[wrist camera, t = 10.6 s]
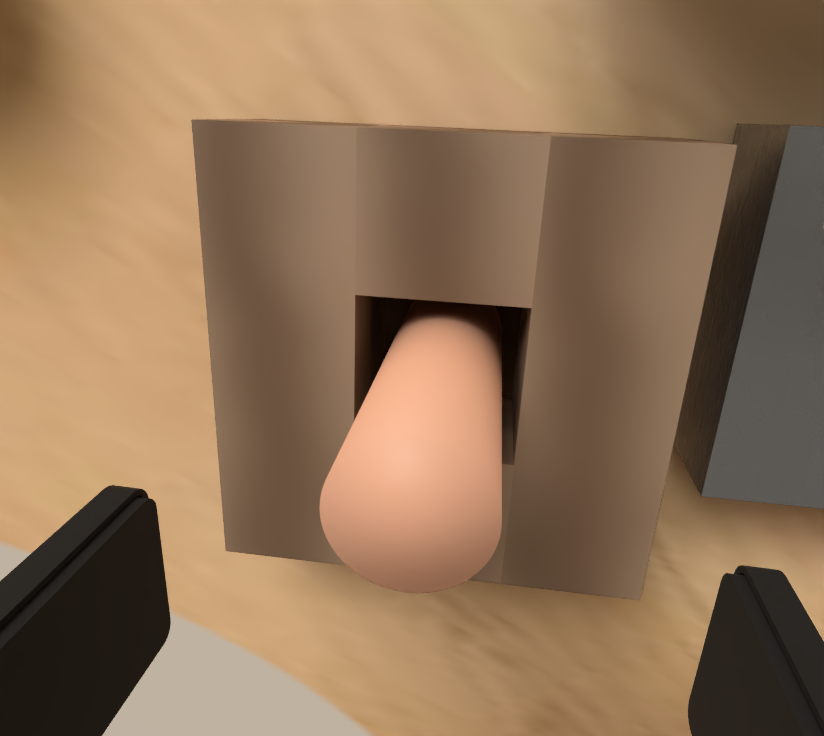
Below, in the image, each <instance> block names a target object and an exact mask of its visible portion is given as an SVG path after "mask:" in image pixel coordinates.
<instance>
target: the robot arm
mask: <svg viewBox="0 0 824 736" xmlns="http://www.w3.org/2000/svg"><path fill="white" fill-rule="evenodd" d="M169 630H170V612H169V604H168V596H167V588H166V580H165V572H164V564H163V556H162V547H161V539H160V531H159V523H158V515H157V507H156V503H155V502H154V500H152V499H149V498H148V495H147V493H146V491H144V490H143V489H137V488H130V487H122V486H114V485H112V486H108V487H106V488H105V489H103V490H102V491H101V492H100V493H99V494H98V495H97V496H96V497H94V498H93V499H92V500H91V501H90V502H89V503H88V504H87V505H85V506H84V507H83V508H82V509H81V510H80V511H79V512H78V513H76V514H75V515H74V516H73V517H72V518H71V519H70V520H69V521H67V522H66V523H65V524H64V525H63V526H62V527H61V528H60V529H59V530H57V531H56V532H55V533H54V534H53V535H52V536H51V537H50V538H48V539H47V540H46V541H45V542H44V543H43V544H42V545H41V546H39V547H38V548H37V549H36V550H35V551H34V552H33V553H32V554H30V555H29V556H28V557H27V558H26V559H25V560H24V561H23V562H21V563H20V564H19V565H18V566H17V567H16V568H15V569H14V570H13V571H11V572H10V573H9V574H8V575H7V576H6V577H5V578H3V579H2V580H1V581H0V736H102V735H103V733H104V732H105V730H106V729H107V727H108V726H109V724H110V723H111V721H112V720H113V718H114V717H115V715H116V714H117V713H118V711H119V710H120V708H121V706H122V705H123V703H124V702H125V701H126V699H127V698H128V696H129V695H130V693H131V692H132V690H133V689H134V687H135V686H136V684H137V683H138V681H139V680H140V679H141V677H142V676H143V674H144V673H145V671H146V670H147V668H148V667H149V665H150V664H151V662H152V661H153V659H154V658H155V656H156V655H157V653H158V652H159V651H160V649H161V647H162V646H163V645H164V643H165V641H166V639H167V637H168V634H169ZM688 719H689V726H690V730H691V734H692V736H824V641H823V640H822V638H821V636H820V635H819V633H818V631H817V629H816V628H815V626H814V624H813V622H812V621H811V619H810V617H809V616H808V614H807V612H806V610H805V609H804V607H803V605H802V603H801V602H800V600H799V598H798V597H797V595H796V593H795V591H794V590H793V588H792V586H791V584H790V583H789V581H788V579H787V577H786V576H785V575H784V573H783V572H781V571H779V570H774V569H766V568H758V567H750V566H742V565H741V566H738V568H737V569H736V570H735V573H734V574H729V573H726V574H724V576H723V577H722V580H721V583H720V587H719V591H718V595H717V598H716V602H715V606H714V610H713V613H712V617H711V621H710V624H709V628H708V632H707V636H706V639H705V643H704V647H703V651H702V654H701V658H700V662H699V666H698V669H697V673H696V677H695V680H694V684H693V688H692V692H691V695H690V699H689V705H688Z"/></svg>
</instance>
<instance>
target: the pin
mask: <svg viewBox="0 0 824 736" xmlns="http://www.w3.org/2000/svg"><path fill="white" fill-rule="evenodd" d="M319 509H320V519H321V523H322V528H323V531H324V533H325V536H326V538H327V540H328V542H329V544H330V545H331V547H332V549H333V550H334V551H335V553H336V554H337V556H338V557H339V558H340V559H341V560H342V561H343V562H344V563H345V564H346V565H347V566H348V567H349V568H351V569H352V570H353V571H354V572H356V573H357V574H359V575H360V576H361V577H363V578H365V579H367V580H369V581H370V582H372V583H375V584H377V585H380V586H382V587H385V588H389V589H392V590H396V591H402V592H410V593H429V592H435V591H441V590H445V589H448V588H451V587H454V586H456V585H459V584H461V583H463V582H465V581H466V580H468V579H470V578H471V577H473V576H474V575H475V574H477V573H478V572H479V571H480V570H481V569H482V568H483V567H484V566H485V565H486V564H487V562H488V561H489V560H490V558H491V557H492V555H493V553H494V551H495V550H496V548H497V545H498V542H499V539H500V534H501V529H502V326H501V320H500V316H499V314H498V311H497V309H496V308H495V306H494V305H483V304H470V303H456V302H443V301H429V300H416V299H415V300H414V302H413V303H412V304H411V306H410V308H409V310H408V312H407V314H406V316H405V318H404V320H403V322H402V324H401V326H400V328H399V330H398V332H397V334H396V336H395V338H394V340H393V342H392V344H391V347H390V349H389V351H388V353H387V355H386V357H385V359H384V361H383V363H382V365H381V367H380V369H379V371H378V373H377V375H376V377H375V379H374V381H373V383H372V386H371V388H370V390H369V392H368V394H367V396H366V398H365V400H364V402H363V404H362V406H361V408H360V410H359V412H358V414H357V416H356V418H355V420H354V423H353V425H352V427H351V429H350V431H349V433H348V435H347V437H346V439H345V441H344V443H343V445H342V447H341V449H340V451H339V453H338V455H337V457H336V460H335V462H334V464H333V466H332V468H331V470H330V472H329V474H328V476H327V478H326V480H325V483H324V485H323V488H322V492H321V497H320V508H319Z"/></svg>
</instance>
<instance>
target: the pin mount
mask: <svg viewBox="0 0 824 736" xmlns="http://www.w3.org/2000/svg"><path fill="white" fill-rule="evenodd" d="M733 144H734V145H737V149H736V154H735V158H734V163H733V168H732V172H731V177H730V182H729V186H728V191H727V196H726V201H725V205H724V210H723V215H722V219H721V224H720V229H719V233H718V238H717V243H716V247H715V252H714V257H713V261H712V266H711V271H710V275H709V280H708V285H707V289H706V294H705V299H704V303H703V308H702V313H701V318H700V322H699V327H698V332H697V336H696V341H695V346H694V350H693V355H692V360H691V364H690V369H689V374H688V378H687V383H686V388H685V392H684V397H683V402H682V406H681V411H680V416H679V421H678V425H677V430H676V435H675V439H674V445H675V447H676V449H677V451H678V453H679V455H680V457H681V458H682V460H683V462H684V464H685V466H686V468H687V470H688V472H689V474H690V476H691V478H692V479H693V481H694V483H695V485H696V487H697V489H698V491H699V493H700V495H701V496H703V497H713V498H723V499H733V500H742V501H752V502H762V503H772V504H782V505H791V506H801V507H811V508H821V509H824V127H817V126H794V125H761V124H737V127H736V132H735V137H734V141H733Z"/></svg>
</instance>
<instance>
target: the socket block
mask: <svg viewBox="0 0 824 736" xmlns="http://www.w3.org/2000/svg"><path fill="white" fill-rule="evenodd" d="M192 131H193V144H194V157H195V169H196V182H197V194H198V207H199V220H200V232H201V245H202V257H203V270H204V282H205V295H206V308H207V320H208V333H209V345H210V358H211V371H212V383H213V396H214V408H215V421H216V433H217V446H218V459H219V471H220V484H221V496H222V509H223V522H224V534H225V547H226V551H230V552H239V553H247V554H255V555H264V556H272V557H281V558H289V559H297V560H306V561H314V562H322V563H331V564H339V565H346V564H345V563H344V562H343V561H342V560H341V559H340V558H339V557H338V556H337V554H336V553H335V551H334V550H333V549H332V547H331V545H330V544H329V542H328V540H327V538H326V536H325V533H324V531H323V528H322V523H321V519H320V509H319V508H320V497H321V492H322V488H323V485H324V483H325V480H326V478H327V476H328V474H329V472H330V470H331V468H332V466H333V464H334V462H335V460H336V457H337V455H338V453H339V451H340V449H341V447H342V445H343V443H344V441H345V439H346V437H347V435H348V433H349V431H350V429H351V427H352V425H353V423H354V420H355V418H356V416H357V414H358V412H359V410H360V408H361V406H362V404H363V402H364V400H365V398H366V396H367V394H368V392H369V390H370V388H371V386H372V383H373V381H374V379H375V377H376V375H377V373H378V371H379V369H380V367H381V365H382V343H383V303H384V297H389V298H402V299H416V300H429V301H443V302H456V303H470V304H483V305H496V306H510V307H522V308H521V318H520V327H519V337H518V346H517V355H516V365H515V374H514V383H513V393H512V399H502V529H501V534H500V539H499V542H498V545H497V548H496V550H495V551H494V553H493V555H492V557H491V558H490V560H489V561H488V562H487V564H486V565H485V566H484V567H483V568H482V569H481V570H480V571H479V572H478V573H477V574H475V575H474V576H473V577H471V578H470V579H468V580H473V581H481V582H490V583H498V584H506V585H515V586H523V587H531V588H540V589H548V590H556V591H565V592H573V593H581V594H590V595H598V596H607V597H615V598H623V599H632V600H640V598H641V594H642V589H643V584H644V580H645V575H646V570H647V566H648V561H649V556H650V552H651V547H652V542H653V538H654V533H655V528H656V523H657V519H658V514H659V509H660V505H661V500H662V495H663V491H664V486H665V481H666V477H667V472H668V467H669V463H670V458H671V453H672V449H673V444H674V439H675V435H676V430H677V425H678V421H679V416H680V411H681V406H682V402H683V397H684V392H685V388H686V383H687V378H688V374H689V369H690V364H691V360H692V355H693V350H694V346H695V341H696V336H697V332H698V327H699V322H700V318H701V313H702V308H703V303H704V299H705V294H706V289H707V285H708V280H709V275H710V271H711V266H712V261H713V257H714V252H715V247H716V243H717V238H718V233H719V229H720V224H721V219H722V215H723V210H724V205H725V201H726V196H727V191H728V186H729V182H730V177H731V172H732V168H733V163H734V158H735V154H736V149H737V145H734V144H726V143H717V142H709V141H700V140H692V139H683V138H661V137H639V136H617V135H595V134H573V133H551V132H529V131H507V130H485V129H463V128H442V127H420V126H398V125H376V124H354V123H332V122H310V121H288V120H266V119H206V120H192Z"/></svg>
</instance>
